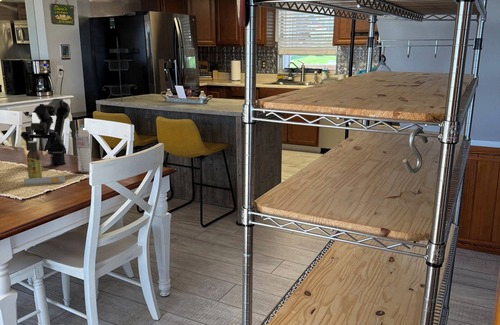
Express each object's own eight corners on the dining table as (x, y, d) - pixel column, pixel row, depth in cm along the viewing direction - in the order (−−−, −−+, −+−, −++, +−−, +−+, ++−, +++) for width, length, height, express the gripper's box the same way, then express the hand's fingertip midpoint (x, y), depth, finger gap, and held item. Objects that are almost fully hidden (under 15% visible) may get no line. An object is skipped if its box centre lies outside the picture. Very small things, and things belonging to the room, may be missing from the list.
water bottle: (75, 171, 237) (71, 125, 231) (85, 168, 243) (82, 123, 237) (84, 173, 234) (81, 126, 228) (94, 170, 240) (91, 124, 234)
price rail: (24, 185, 212) (23, 179, 211) (24, 185, 213) (23, 178, 212) (64, 182, 217) (63, 176, 216) (64, 182, 218) (64, 175, 217)
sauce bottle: (26, 181, 219) (21, 141, 214) (36, 178, 224) (32, 139, 220) (35, 183, 216) (30, 143, 212) (45, 179, 222) (41, 140, 217)
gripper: (20, 116, 226) (10, 141, 218) (55, 116, 225) (47, 142, 217) (30, 128, 236) (21, 153, 228) (64, 129, 235) (56, 154, 227)
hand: (36, 150), depth 225 cm, fingers open, 9 cm apart
